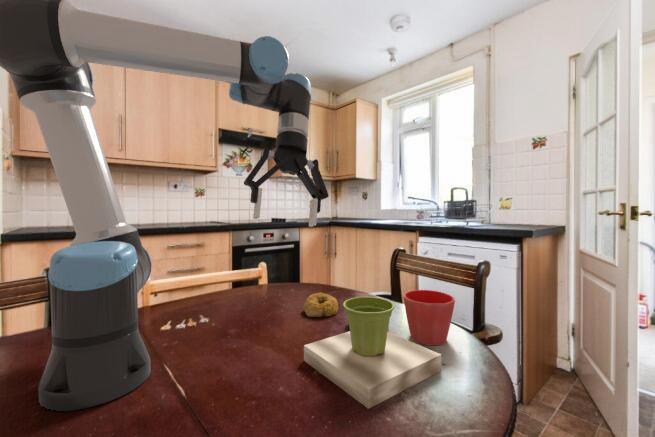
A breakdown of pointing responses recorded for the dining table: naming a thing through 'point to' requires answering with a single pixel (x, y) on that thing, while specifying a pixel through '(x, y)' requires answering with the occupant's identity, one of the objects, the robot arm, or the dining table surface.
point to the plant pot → (368, 324)
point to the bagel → (320, 305)
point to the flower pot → (429, 315)
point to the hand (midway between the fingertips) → (285, 222)
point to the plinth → (372, 366)
